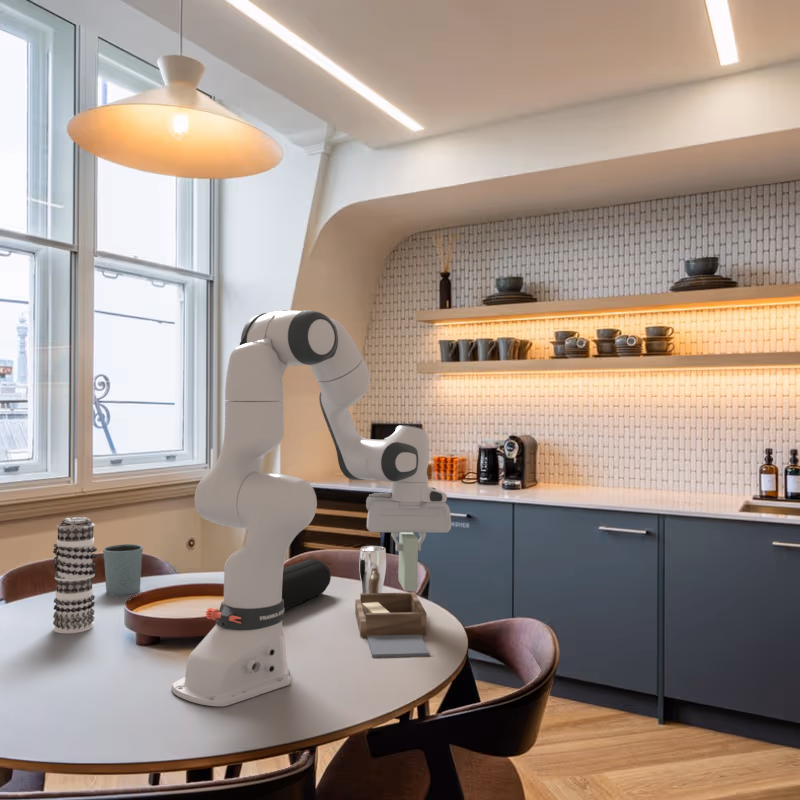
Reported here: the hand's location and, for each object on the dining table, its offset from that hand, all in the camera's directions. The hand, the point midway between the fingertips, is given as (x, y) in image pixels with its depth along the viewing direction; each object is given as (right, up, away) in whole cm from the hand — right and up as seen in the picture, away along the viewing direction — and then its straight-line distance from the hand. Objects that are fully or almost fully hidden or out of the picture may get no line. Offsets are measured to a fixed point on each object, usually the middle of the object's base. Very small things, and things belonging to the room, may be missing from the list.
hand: (408, 550), depth 172 cm
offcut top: (-8, -16, -1) cm, 18 cm away
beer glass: (-9, -18, +15) cm, 25 cm away
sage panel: (0, -8, 0) cm, 8 cm away
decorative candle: (-77, -16, -7) cm, 79 cm away
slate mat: (-3, -17, -16) cm, 24 cm away
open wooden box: (-5, -17, 0) cm, 18 cm away
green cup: (-78, -16, +24) cm, 83 cm away
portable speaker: (-30, -17, +15) cm, 38 cm away
